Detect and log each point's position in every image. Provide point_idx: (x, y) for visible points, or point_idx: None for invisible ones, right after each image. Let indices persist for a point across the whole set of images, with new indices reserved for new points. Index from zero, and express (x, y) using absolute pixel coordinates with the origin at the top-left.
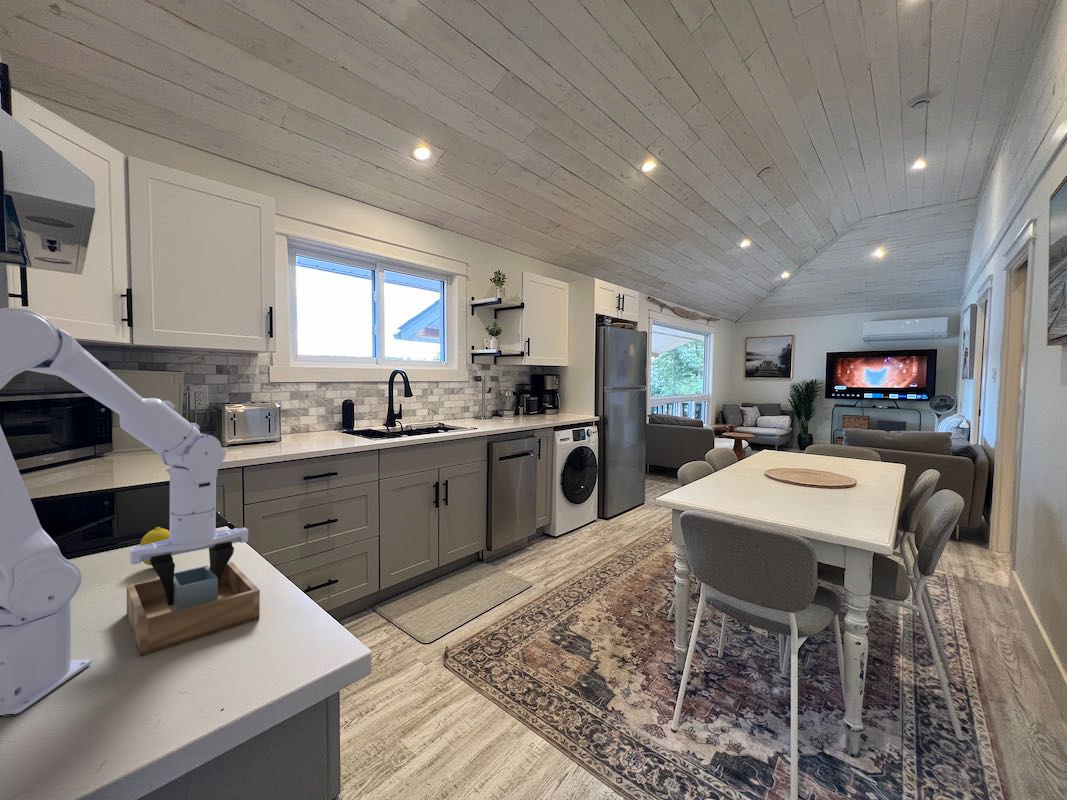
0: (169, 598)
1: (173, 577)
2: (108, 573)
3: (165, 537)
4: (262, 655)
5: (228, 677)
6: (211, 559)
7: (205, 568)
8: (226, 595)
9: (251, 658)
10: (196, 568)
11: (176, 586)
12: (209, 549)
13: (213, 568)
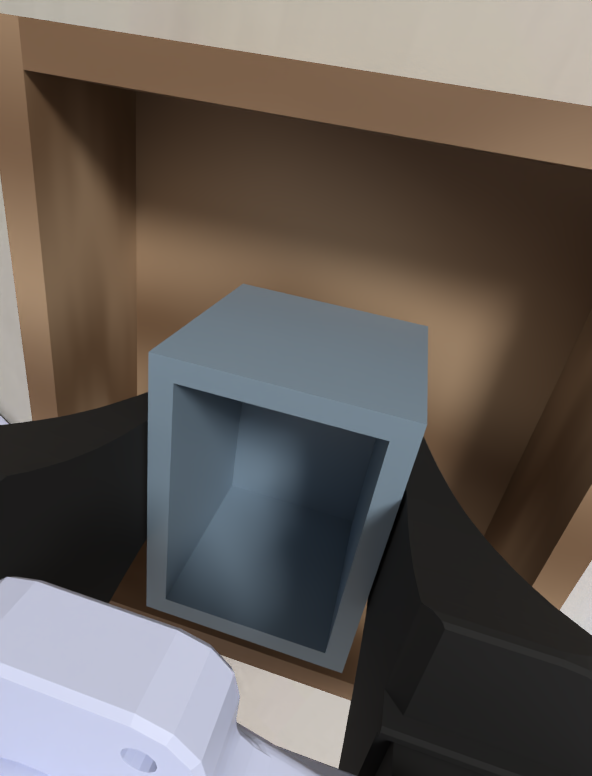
0: None
1: (117, 583)
2: None
3: None
4: (339, 737)
5: (251, 729)
6: (388, 601)
7: (376, 481)
8: (528, 343)
9: (316, 726)
10: (331, 423)
11: (149, 587)
12: (408, 614)
13: (375, 601)
